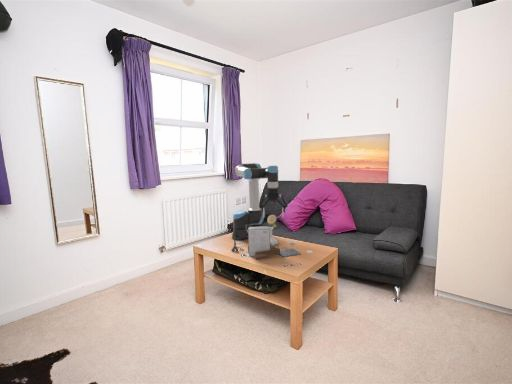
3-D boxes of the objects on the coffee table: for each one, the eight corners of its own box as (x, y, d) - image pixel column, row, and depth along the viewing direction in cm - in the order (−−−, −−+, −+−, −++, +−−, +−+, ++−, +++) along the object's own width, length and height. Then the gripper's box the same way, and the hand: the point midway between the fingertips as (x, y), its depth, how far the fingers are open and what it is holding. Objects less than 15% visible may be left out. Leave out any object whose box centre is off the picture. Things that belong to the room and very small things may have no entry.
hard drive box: (270, 252, 200) (270, 226, 198) (270, 256, 193) (269, 229, 190) (249, 252, 202) (249, 226, 199) (248, 256, 194) (247, 229, 192)
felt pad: (276, 251, 202) (276, 251, 202) (292, 249, 207) (292, 248, 207) (283, 257, 191) (283, 256, 191) (300, 254, 196) (300, 253, 196)
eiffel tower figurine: (233, 256, 197) (233, 238, 196) (223, 253, 203) (223, 235, 202) (246, 250, 209) (246, 233, 207) (237, 247, 215) (236, 231, 213)
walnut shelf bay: (248, 252, 203) (247, 245, 202) (270, 248, 209) (270, 242, 209) (256, 259, 187) (255, 252, 187) (280, 255, 194) (279, 248, 193)
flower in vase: (261, 243, 221) (260, 213, 218) (271, 241, 228) (271, 211, 224) (271, 248, 210) (270, 216, 207) (282, 244, 217) (281, 214, 214)
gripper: (254, 188, 190) (255, 218, 193) (290, 187, 188) (291, 217, 191) (255, 187, 197) (256, 215, 200) (290, 186, 195) (290, 215, 198)
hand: (273, 216), depth 195 cm, fingers open, 13 cm apart
